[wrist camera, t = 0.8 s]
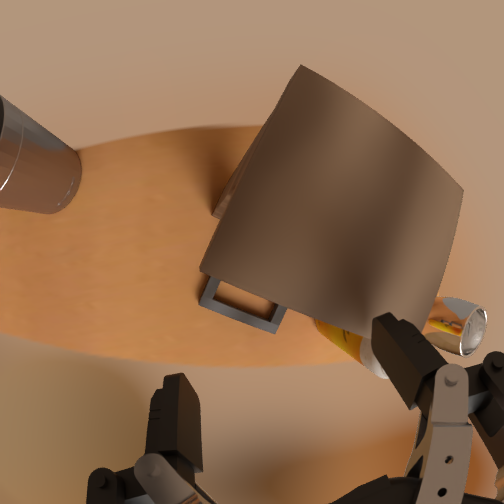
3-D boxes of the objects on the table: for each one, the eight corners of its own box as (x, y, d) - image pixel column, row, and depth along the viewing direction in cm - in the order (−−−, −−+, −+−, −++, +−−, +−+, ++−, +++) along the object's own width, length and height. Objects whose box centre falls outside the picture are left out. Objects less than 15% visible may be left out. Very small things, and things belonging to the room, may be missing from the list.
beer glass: (417, 282, 39) (490, 297, 24) (416, 322, 40) (484, 347, 25) (386, 291, 38) (462, 313, 23) (386, 334, 38) (455, 368, 24)
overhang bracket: (177, 293, 32) (148, 400, 10) (233, 170, 32) (300, 64, 10) (272, 331, 35) (370, 443, 12) (323, 216, 35) (471, 198, 13)
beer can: (349, 287, 36) (426, 313, 22) (354, 327, 37) (425, 366, 22) (309, 300, 35) (377, 337, 21) (316, 341, 36) (379, 393, 21)
